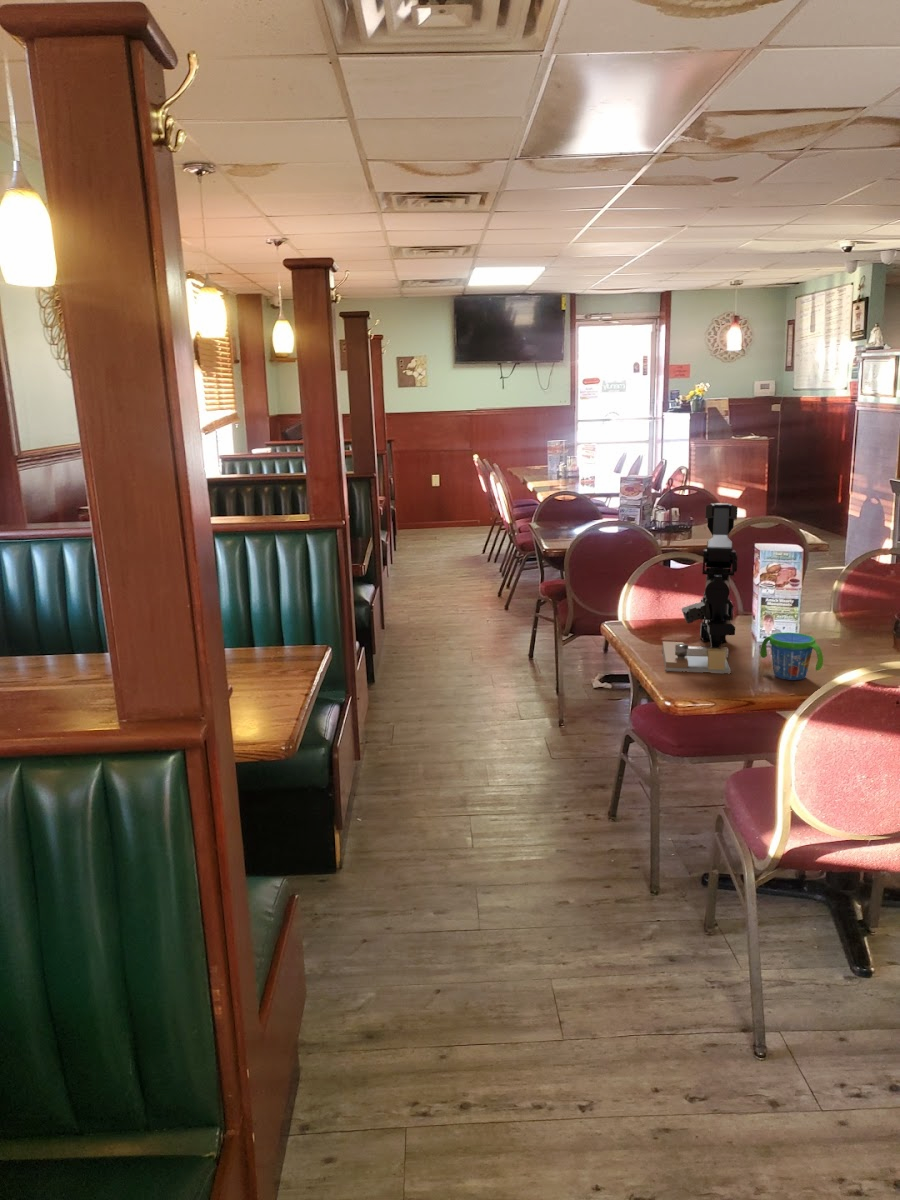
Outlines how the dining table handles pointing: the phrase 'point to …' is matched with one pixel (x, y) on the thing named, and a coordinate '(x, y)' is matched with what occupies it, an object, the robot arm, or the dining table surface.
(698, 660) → the door board
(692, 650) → the latch bar
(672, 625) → the dining table surface
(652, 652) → the dining table surface
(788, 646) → the snack cup
